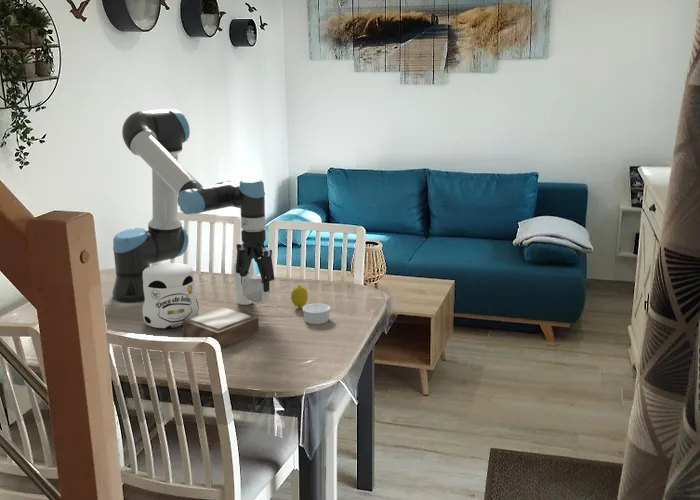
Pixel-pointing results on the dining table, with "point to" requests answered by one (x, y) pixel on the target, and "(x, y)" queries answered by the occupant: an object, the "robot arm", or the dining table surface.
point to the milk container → (168, 295)
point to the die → (253, 289)
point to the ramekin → (316, 313)
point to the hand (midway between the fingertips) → (255, 297)
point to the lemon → (299, 296)
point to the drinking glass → (240, 298)
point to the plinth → (222, 326)
